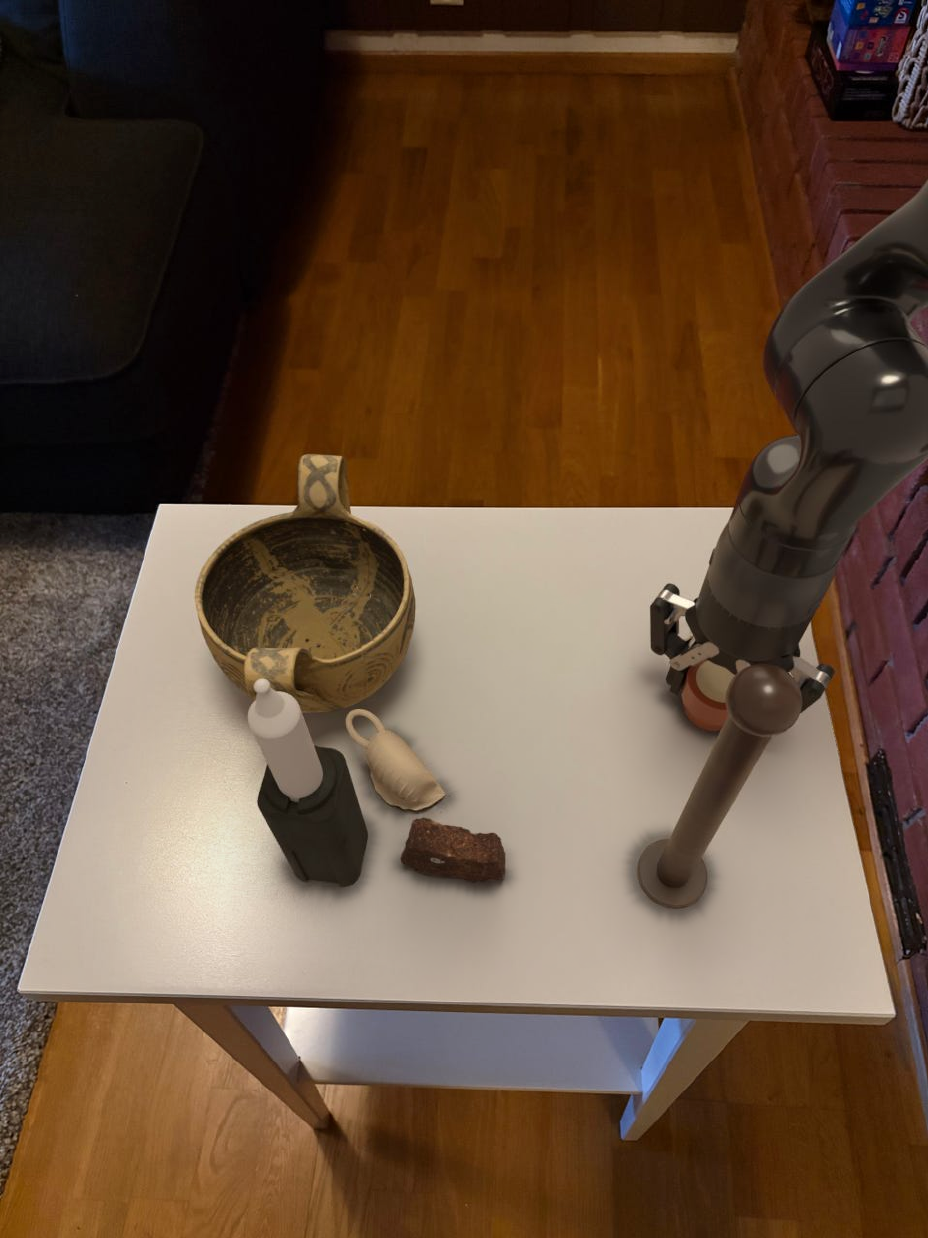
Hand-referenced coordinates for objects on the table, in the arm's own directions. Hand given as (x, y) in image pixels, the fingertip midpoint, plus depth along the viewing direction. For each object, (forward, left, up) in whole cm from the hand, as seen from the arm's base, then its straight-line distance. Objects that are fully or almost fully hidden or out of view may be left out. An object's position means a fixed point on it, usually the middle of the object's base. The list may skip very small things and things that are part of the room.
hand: (710, 704), depth 72 cm
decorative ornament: (+17, +20, -1) cm, 26 cm away
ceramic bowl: (+29, +15, -1) cm, 33 cm away
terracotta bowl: (0, 0, -1) cm, 1 cm away
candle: (+17, +28, -1) cm, 33 cm away
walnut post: (-4, +14, -1) cm, 15 cm away
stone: (+9, +23, -1) cm, 25 cm away
